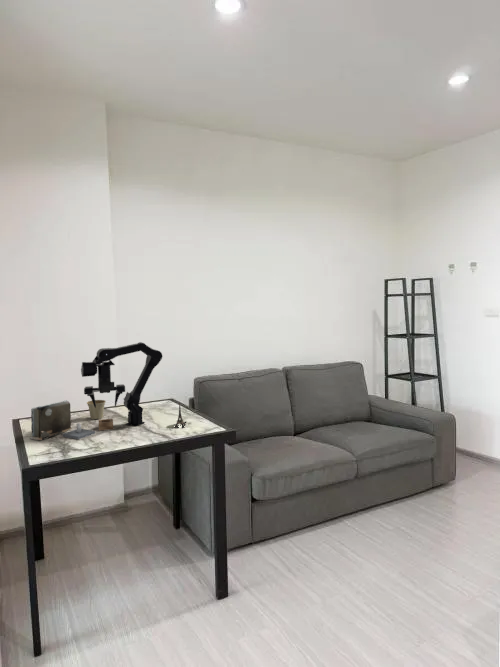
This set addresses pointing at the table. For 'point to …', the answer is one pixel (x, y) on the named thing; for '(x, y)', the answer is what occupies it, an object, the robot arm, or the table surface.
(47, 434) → the radio
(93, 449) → the table surface
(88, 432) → the hub
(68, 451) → the table surface
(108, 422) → the collar
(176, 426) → the eiffel tower figurine
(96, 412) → the flower pot
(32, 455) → the table surface
